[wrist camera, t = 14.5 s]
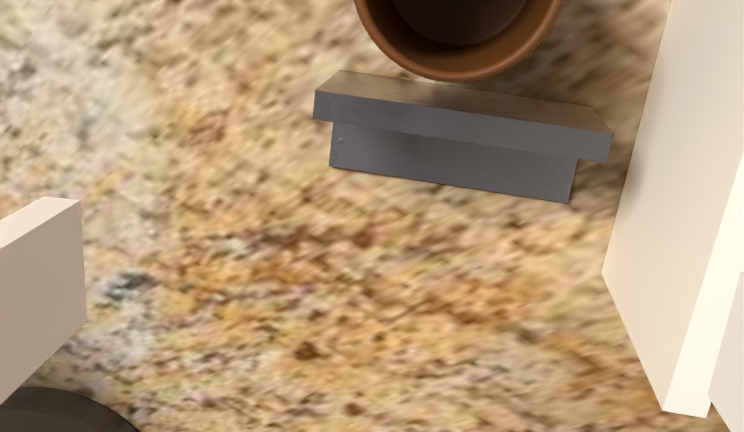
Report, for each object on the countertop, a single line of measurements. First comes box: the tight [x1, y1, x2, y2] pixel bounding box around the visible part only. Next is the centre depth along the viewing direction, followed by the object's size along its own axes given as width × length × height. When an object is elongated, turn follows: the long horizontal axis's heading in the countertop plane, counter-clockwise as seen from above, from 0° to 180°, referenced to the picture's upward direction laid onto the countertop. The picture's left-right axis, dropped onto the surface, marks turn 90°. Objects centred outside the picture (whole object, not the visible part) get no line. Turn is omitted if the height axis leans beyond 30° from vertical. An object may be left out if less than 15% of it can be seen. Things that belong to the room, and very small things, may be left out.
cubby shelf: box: [601, 0, 744, 418], centre depth 27 cm, size 20×24×12 cm
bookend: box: [313, 70, 613, 203], centre depth 32 cm, size 12×5×6 cm, turn 83°
